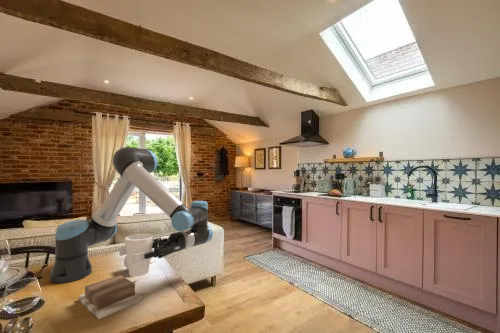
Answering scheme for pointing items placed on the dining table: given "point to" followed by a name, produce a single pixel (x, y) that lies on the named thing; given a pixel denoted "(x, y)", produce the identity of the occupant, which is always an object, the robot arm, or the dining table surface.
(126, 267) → the mug
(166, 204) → the robot arm
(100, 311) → the build base
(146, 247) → the foam cup
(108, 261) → the dining table surface
